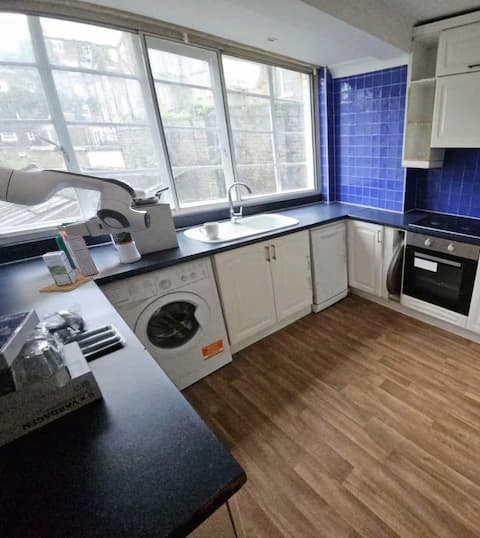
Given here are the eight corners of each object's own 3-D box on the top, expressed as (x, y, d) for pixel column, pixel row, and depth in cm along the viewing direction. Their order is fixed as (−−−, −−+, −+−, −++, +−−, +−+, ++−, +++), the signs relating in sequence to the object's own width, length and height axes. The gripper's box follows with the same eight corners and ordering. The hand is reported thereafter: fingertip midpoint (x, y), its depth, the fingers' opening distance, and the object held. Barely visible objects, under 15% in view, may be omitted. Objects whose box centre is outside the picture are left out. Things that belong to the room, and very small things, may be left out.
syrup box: (77, 279, 136) (64, 249, 130) (73, 284, 131) (59, 253, 125) (61, 282, 134) (46, 252, 128) (56, 287, 129) (41, 256, 123)
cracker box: (76, 271, 148) (58, 231, 139) (91, 267, 152) (74, 228, 144) (83, 277, 140) (64, 235, 131) (99, 273, 144) (81, 232, 136)
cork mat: (70, 291, 127) (69, 289, 126) (39, 292, 127) (38, 290, 126) (94, 278, 139) (93, 276, 138) (66, 279, 139) (65, 277, 138)
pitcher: (87, 266, 153) (69, 225, 144) (67, 269, 150) (47, 227, 141) (95, 260, 161) (78, 221, 153) (76, 263, 159) (58, 223, 150)
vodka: (145, 257, 163) (126, 203, 151) (132, 264, 154) (111, 207, 142) (130, 257, 164) (110, 203, 152) (116, 264, 155) (94, 207, 143)
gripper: (118, 210, 129) (83, 212, 127) (87, 221, 110) (45, 224, 108) (123, 224, 131) (89, 226, 129) (93, 237, 113) (52, 240, 111)
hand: (68, 225), depth 118 cm, fingers open, 8 cm apart
